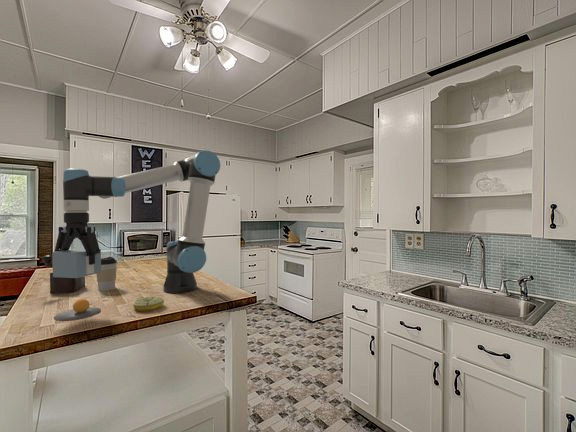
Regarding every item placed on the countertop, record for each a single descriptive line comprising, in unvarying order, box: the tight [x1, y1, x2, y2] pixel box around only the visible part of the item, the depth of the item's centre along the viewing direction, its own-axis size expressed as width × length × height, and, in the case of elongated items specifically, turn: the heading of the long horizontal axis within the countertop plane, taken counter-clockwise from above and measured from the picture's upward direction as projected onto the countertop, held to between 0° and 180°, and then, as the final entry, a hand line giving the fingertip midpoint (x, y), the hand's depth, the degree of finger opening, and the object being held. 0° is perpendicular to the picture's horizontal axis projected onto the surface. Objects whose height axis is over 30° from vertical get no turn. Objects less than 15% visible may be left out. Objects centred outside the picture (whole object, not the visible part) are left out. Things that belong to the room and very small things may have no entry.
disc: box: [53, 306, 102, 322], centre depth 110 cm, size 14×14×1 cm
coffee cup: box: [96, 256, 118, 292], centre depth 146 cm, size 9×9×15 cm
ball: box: [72, 298, 90, 313], centre depth 111 cm, size 5×5×5 cm
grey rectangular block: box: [52, 248, 102, 278], centre depth 110 cm, size 10×10×9 cm
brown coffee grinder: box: [41, 254, 86, 294], centre depth 142 cm, size 16×11×18 cm
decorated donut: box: [132, 296, 165, 313], centre depth 116 cm, size 10×11×4 cm
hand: (77, 273), depth 110 cm, fingers closed on grey rectangular block, 10 cm apart
